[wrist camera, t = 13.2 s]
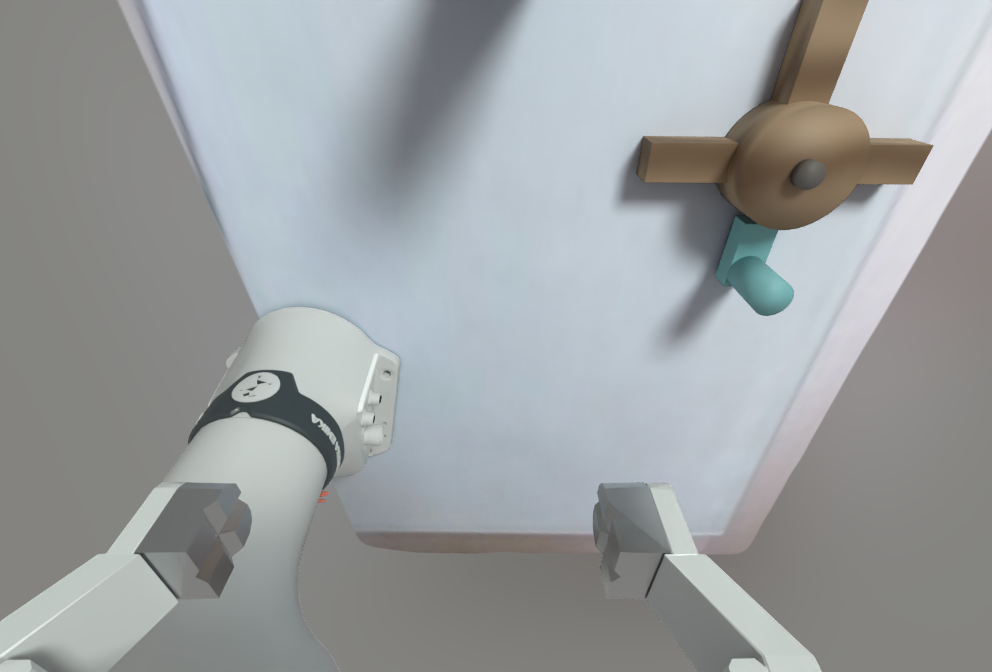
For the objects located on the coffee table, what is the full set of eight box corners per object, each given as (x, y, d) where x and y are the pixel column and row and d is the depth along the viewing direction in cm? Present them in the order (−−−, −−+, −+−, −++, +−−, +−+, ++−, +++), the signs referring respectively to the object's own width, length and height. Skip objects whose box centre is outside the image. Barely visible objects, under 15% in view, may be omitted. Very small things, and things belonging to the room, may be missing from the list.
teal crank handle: (734, 216, 40) (774, 248, 34) (769, 216, 40) (815, 249, 34) (713, 277, 44) (747, 315, 38) (746, 277, 44) (784, 316, 38)
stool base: (873, 210, 40) (926, 235, 35) (630, 208, 40) (649, 233, 35) (981, -7, 31) (1072, -12, 26) (670, -11, 31) (703, -17, 26)
